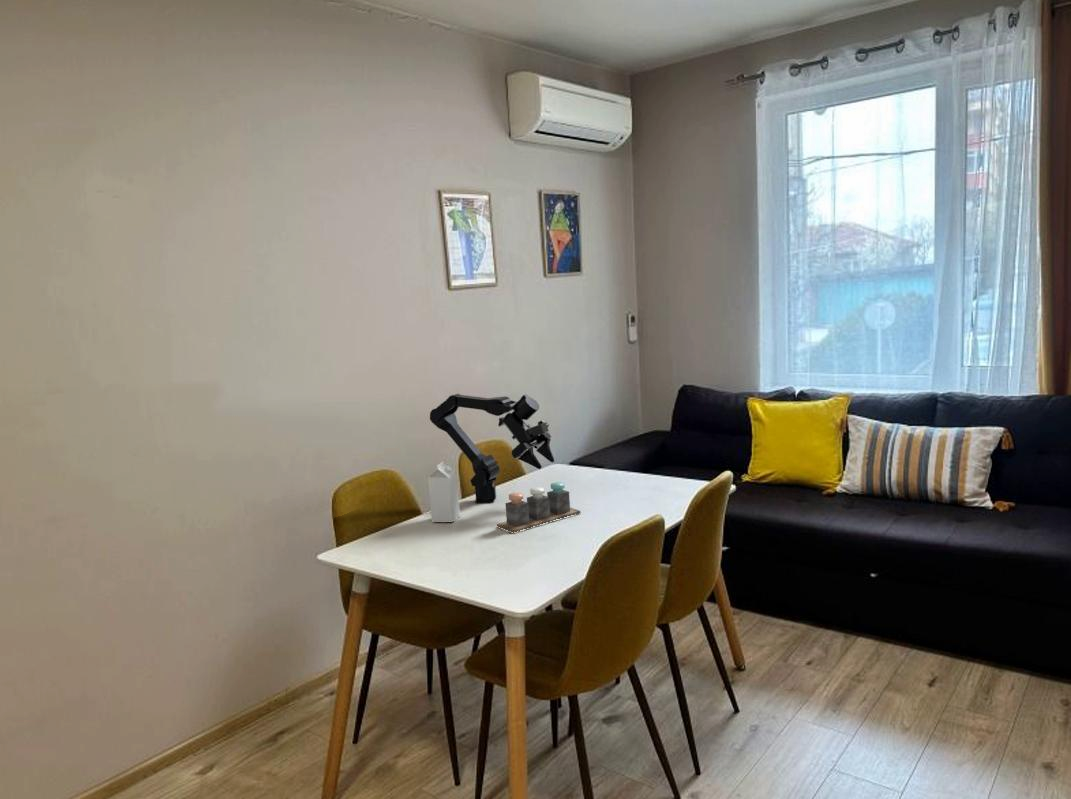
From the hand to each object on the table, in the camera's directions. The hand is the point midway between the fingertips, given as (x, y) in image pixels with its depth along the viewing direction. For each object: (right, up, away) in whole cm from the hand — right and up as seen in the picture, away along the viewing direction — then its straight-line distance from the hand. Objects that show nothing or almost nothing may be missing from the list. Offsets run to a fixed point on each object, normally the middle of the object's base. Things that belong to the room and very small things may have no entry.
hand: (547, 465), depth 238 cm
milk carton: (-33, -18, -5) cm, 37 cm away
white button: (-3, -10, -13) cm, 16 cm away
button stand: (-3, -16, -12) cm, 20 cm away
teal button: (+3, -9, -8) cm, 13 cm away
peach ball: (-10, -11, -17) cm, 23 cm away
